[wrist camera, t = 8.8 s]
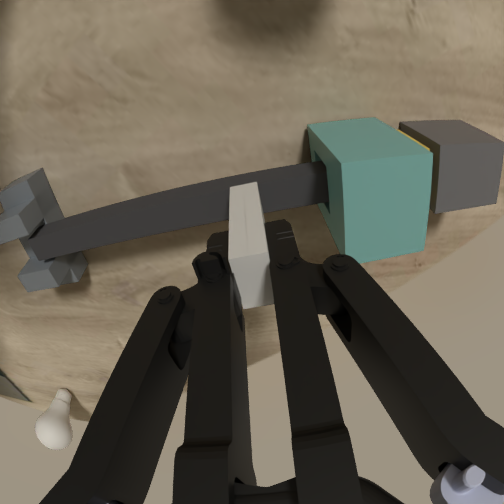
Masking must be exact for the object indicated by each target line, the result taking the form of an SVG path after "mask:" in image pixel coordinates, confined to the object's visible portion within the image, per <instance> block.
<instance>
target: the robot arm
mask: <svg viewBox="0 0 504 504" xmlns="http://www.w3.org/2000/svg"><path fill="white" fill-rule="evenodd" d="M192 265H193V268H194V270H195V273H196V276H197V278H198V283H197V284H196V285H194V286H193V287H191V288H189V289H186V290H184V291H180V289H179V288H177V287H175V286H167V287H163V288H161V289H159V290H158V291H156V292H155V293H154V294H153V296H152V297H151V299H150V301H149V302H148V304H147V306H146V308H145V310H144V312H143V313H142V315H141V317H140V319H139V321H138V323H137V325H136V327H135V329H134V331H133V332H132V334H131V336H130V338H129V340H128V342H127V344H126V346H125V348H124V350H123V352H122V354H121V356H120V358H119V360H118V362H117V364H116V366H115V368H114V370H113V372H112V374H111V376H110V378H109V380H108V382H107V384H106V387H105V389H104V391H103V393H102V395H101V397H100V399H99V401H98V403H97V406H96V408H95V410H94V412H93V414H92V416H91V419H90V421H89V423H88V425H87V428H86V430H85V432H84V435H83V437H82V439H81V441H80V444H79V446H78V448H77V451H76V453H75V455H74V458H73V460H72V463H71V465H70V467H69V469H68V470H67V472H66V473H65V474H64V475H63V476H62V478H61V479H60V480H59V481H58V482H57V483H56V484H55V486H54V487H53V488H52V489H51V490H50V491H49V493H48V494H47V495H46V496H45V497H44V499H43V500H42V501H41V502H40V503H39V504H143V503H144V500H145V498H146V495H147V493H148V490H149V487H150V484H151V481H152V478H153V475H154V472H155V469H156V466H157V463H158V461H159V457H160V454H161V451H162V449H163V446H164V443H165V440H166V437H167V434H168V431H169V428H170V425H171V422H172V419H173V417H174V414H175V411H176V408H177V405H178V402H179V399H180V397H181V394H182V391H183V388H184V385H185V382H186V379H187V377H188V388H187V402H186V416H185V433H184V443H183V445H181V446H180V447H178V449H177V451H176V453H175V460H174V480H173V503H172V504H404V503H402V502H401V501H400V500H398V499H397V498H395V497H394V496H392V495H391V494H390V493H388V492H387V491H385V490H384V489H382V488H381V487H380V486H378V485H377V484H375V483H373V482H372V481H370V480H368V479H365V478H362V477H359V476H358V473H357V468H356V463H355V458H354V453H353V449H352V444H351V440H350V436H349V432H348V429H347V427H346V426H345V424H344V421H343V417H342V413H341V408H340V403H339V399H338V395H337V391H336V386H335V382H334V378H333V374H332V370H331V365H330V362H329V357H328V353H327V349H326V345H325V341H324V337H323V333H322V329H321V326H320V322H319V318H318V314H322V315H326V317H327V319H328V320H329V322H330V323H331V325H332V327H333V328H334V329H335V331H336V333H337V334H338V336H339V337H340V339H341V340H342V342H343V343H344V345H345V346H346V348H347V350H348V351H349V352H350V354H351V356H352V357H353V359H354V360H355V362H356V363H357V365H358V367H359V368H360V370H361V371H362V373H363V375H364V376H365V378H366V379H367V381H368V382H369V384H370V385H371V387H372V389H373V390H374V392H375V393H376V395H377V397H378V398H379V400H380V401H381V403H382V404H383V406H384V408H385V409H386V411H387V413H388V414H389V416H390V417H391V419H392V420H393V422H394V424H395V425H396V427H397V429H398V430H399V432H400V434H401V435H402V437H403V438H404V440H405V442H406V443H407V445H408V447H409V448H410V450H411V452H412V453H413V455H414V456H415V458H416V459H417V461H418V462H419V464H420V465H421V467H422V468H423V469H424V470H425V471H426V472H427V473H428V475H429V476H430V477H431V478H432V479H434V482H433V484H432V486H431V489H430V498H431V501H432V503H433V504H502V503H503V502H504V428H503V427H502V426H500V425H499V424H497V423H496V422H494V421H493V420H491V419H490V418H488V417H487V416H485V414H484V413H483V412H482V410H481V409H480V407H479V406H478V405H477V404H476V402H475V401H474V399H473V398H472V397H471V395H470V394H469V393H468V391H467V390H466V389H465V387H464V386H463V385H462V384H461V382H460V381H459V380H458V378H457V377H456V376H455V375H454V373H453V372H452V371H451V370H450V368H449V367H448V366H447V364H446V363H445V362H444V361H443V360H442V358H441V357H440V356H439V355H438V353H437V352H436V351H435V350H434V348H433V347H432V346H431V345H430V344H429V342H428V341H427V340H426V339H425V338H424V336H423V335H422V334H421V333H420V332H419V330H417V328H416V327H415V326H414V325H413V323H412V322H411V321H410V320H409V319H408V318H407V317H406V315H405V314H404V313H403V312H402V311H401V310H400V308H399V307H398V306H397V305H396V304H395V303H394V302H393V300H392V299H391V298H390V297H389V296H388V295H387V294H386V292H385V291H384V290H383V289H382V288H381V287H380V286H379V285H378V284H377V282H376V281H375V280H374V279H373V278H372V277H371V276H370V275H369V274H368V273H367V272H366V270H365V269H364V268H363V267H362V266H361V265H360V264H359V263H358V262H357V261H356V260H355V259H354V258H353V257H351V256H349V255H345V254H336V255H332V256H330V257H328V258H327V259H326V260H325V261H324V262H323V264H312V263H308V262H306V261H304V260H303V259H302V258H301V257H300V255H299V251H298V248H297V244H296V241H295V238H294V234H293V231H292V227H291V224H290V223H289V222H287V221H286V220H285V219H283V220H277V221H272V222H267V223H265V219H264V214H263V210H262V205H261V200H260V195H259V190H258V185H257V182H253V183H248V184H243V185H238V186H233V187H230V202H229V231H224V232H219V233H214V234H212V235H211V237H210V238H209V239H208V241H207V250H206V252H203V253H201V254H199V255H198V256H197V257H196V258H195V259H194V260H193V262H192ZM271 304H275V311H276V319H277V326H278V333H279V340H280V348H281V355H282V362H283V370H284V377H285V385H286V393H287V401H288V408H289V416H290V424H291V432H292V450H293V458H294V466H295V475H296V477H295V478H292V479H289V480H287V481H284V482H281V483H278V484H276V485H273V486H270V487H260V486H257V485H256V484H257V483H256V477H255V473H254V469H253V463H252V449H251V432H250V415H249V397H248V379H247V360H246V341H245V321H244V316H243V313H242V306H243V309H248V308H254V307H260V306H265V305H271ZM188 374H189V375H188Z"/></svg>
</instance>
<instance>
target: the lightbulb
mask: <svg viewBox="0 0 504 504" xmlns="http://www.w3.org/2000/svg"><path fill="white" fill-rule="evenodd" d="M71 397H72V396H71V394H70V393H69V391H68V390H67V389H59V390H58V391H57V394H56V396H55V399H53V400H52V403H51V405H50V407H49V408H48V409H47V410H46V411H45V412H44V413H43V414H42V415H41V416H39V418H38V419H37V421H36V424H35V432H36V435H37V437H38V439H39V440H40V442H41V443H42V444H43V445H45V446H46V447H47V448H49V449H53V450H62V449H64V448H66V447H67V446H69V444H70V443H71V440H72V428H71V425H70V420H69V412H70V401H71Z"/></svg>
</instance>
